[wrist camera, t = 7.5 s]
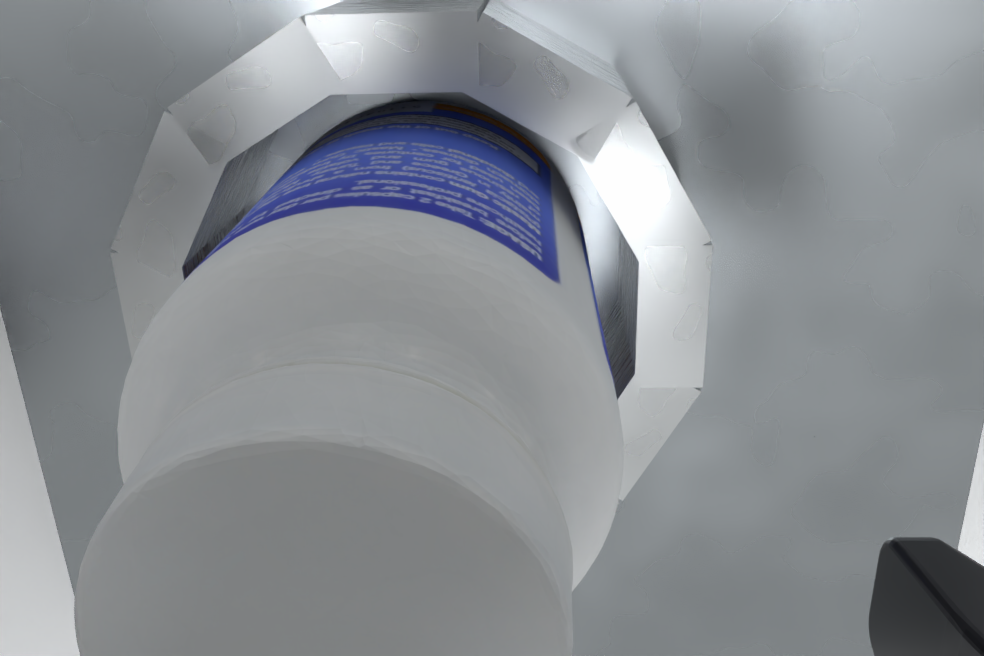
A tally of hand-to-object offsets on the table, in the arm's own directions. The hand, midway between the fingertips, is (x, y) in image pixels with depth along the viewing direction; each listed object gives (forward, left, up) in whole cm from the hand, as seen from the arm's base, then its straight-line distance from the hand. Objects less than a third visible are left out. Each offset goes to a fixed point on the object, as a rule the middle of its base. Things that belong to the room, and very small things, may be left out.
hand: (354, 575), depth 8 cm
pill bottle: (0, 0, -9) cm, 9 cm away
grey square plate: (+1, -2, -10) cm, 10 cm away
